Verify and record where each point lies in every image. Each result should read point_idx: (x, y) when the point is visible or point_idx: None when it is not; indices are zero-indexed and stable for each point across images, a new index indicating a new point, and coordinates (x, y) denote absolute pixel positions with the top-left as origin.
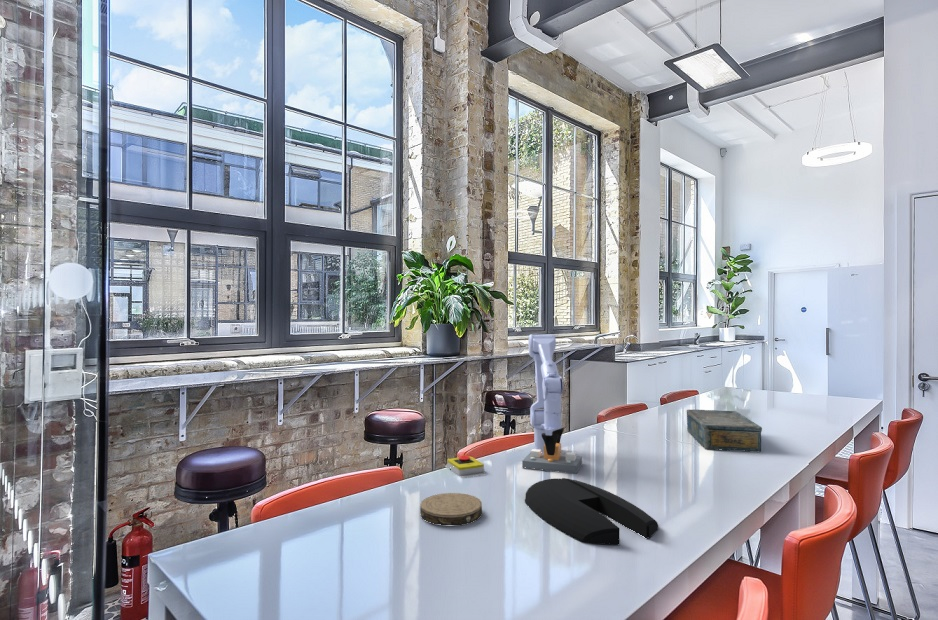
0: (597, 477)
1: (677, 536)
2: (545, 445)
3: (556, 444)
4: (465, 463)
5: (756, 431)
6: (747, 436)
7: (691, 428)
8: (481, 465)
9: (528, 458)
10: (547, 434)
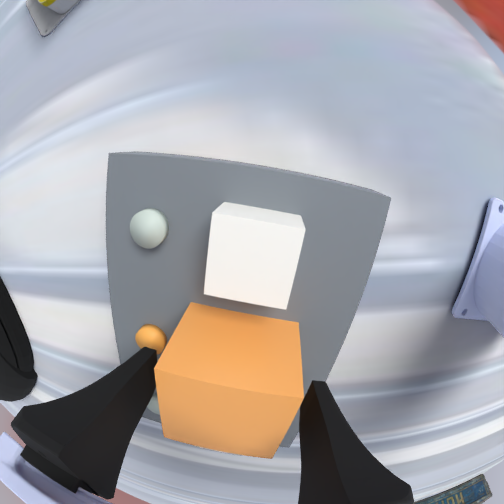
0: (137, 425)
1: (3, 400)
2: (96, 381)
3: (230, 441)
4: None
5: None
6: None
7: (462, 493)
8: (39, 2)
9: (170, 188)
10: (11, 445)
